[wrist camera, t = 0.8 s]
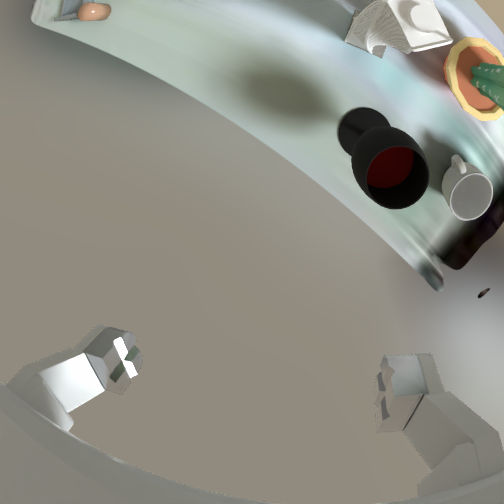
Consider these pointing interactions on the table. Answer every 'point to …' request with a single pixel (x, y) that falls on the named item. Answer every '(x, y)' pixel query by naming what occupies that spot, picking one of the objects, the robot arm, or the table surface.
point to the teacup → (466, 189)
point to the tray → (71, 9)
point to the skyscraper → (398, 27)
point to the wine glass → (384, 159)
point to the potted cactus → (476, 77)
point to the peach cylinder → (94, 11)
